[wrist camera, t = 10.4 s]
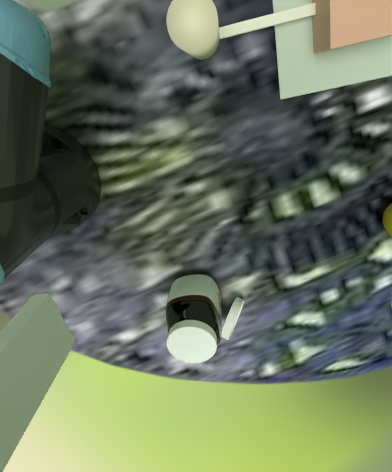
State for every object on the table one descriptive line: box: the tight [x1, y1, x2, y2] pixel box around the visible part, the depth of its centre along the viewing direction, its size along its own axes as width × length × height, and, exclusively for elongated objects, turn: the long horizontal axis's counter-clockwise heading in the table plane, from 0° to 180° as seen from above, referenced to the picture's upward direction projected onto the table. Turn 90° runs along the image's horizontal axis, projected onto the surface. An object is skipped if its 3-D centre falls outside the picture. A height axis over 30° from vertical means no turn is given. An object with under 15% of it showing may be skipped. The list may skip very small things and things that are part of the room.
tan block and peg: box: [167, 0, 392, 60], centre depth 27 cm, size 22×8×12 cm, turn 102°
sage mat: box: [273, 0, 392, 99], centre depth 32 cm, size 14×16×1 cm
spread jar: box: [166, 274, 244, 363], centre depth 46 cm, size 12×11×12 cm
